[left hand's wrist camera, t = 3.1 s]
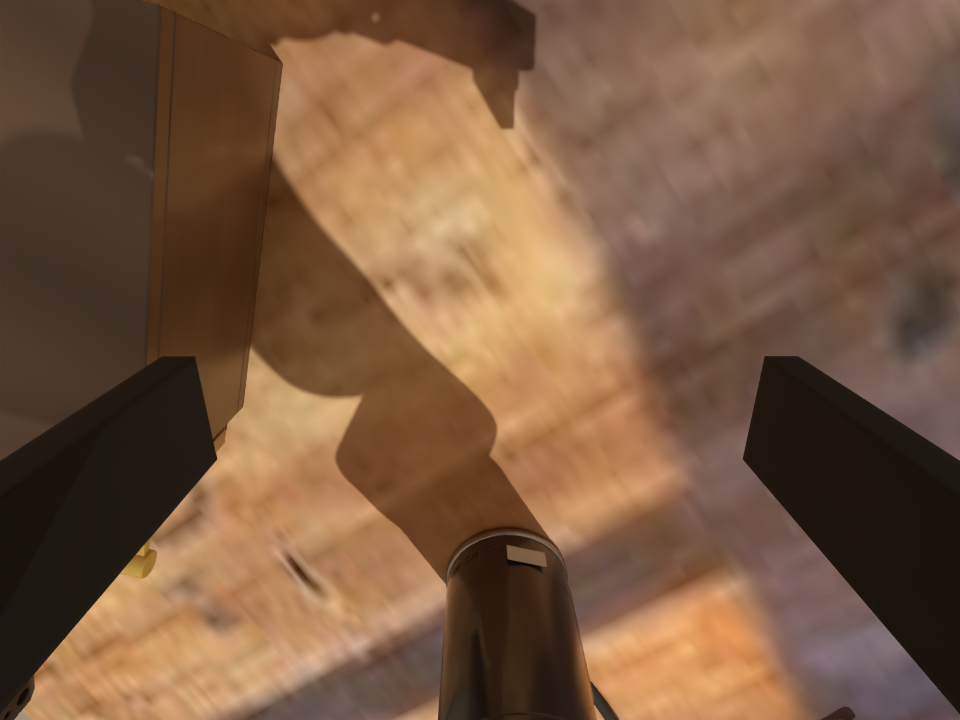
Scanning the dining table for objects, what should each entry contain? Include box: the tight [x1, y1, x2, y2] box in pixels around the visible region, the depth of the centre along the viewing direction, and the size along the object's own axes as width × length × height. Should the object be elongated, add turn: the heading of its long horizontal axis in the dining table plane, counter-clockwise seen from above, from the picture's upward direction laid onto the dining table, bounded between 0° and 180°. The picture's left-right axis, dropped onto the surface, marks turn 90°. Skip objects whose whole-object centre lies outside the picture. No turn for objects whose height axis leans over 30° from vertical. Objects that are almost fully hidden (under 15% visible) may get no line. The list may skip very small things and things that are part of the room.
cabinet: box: [0, 0, 282, 461], centre depth 26 cm, size 22×11×12 cm, turn 165°
